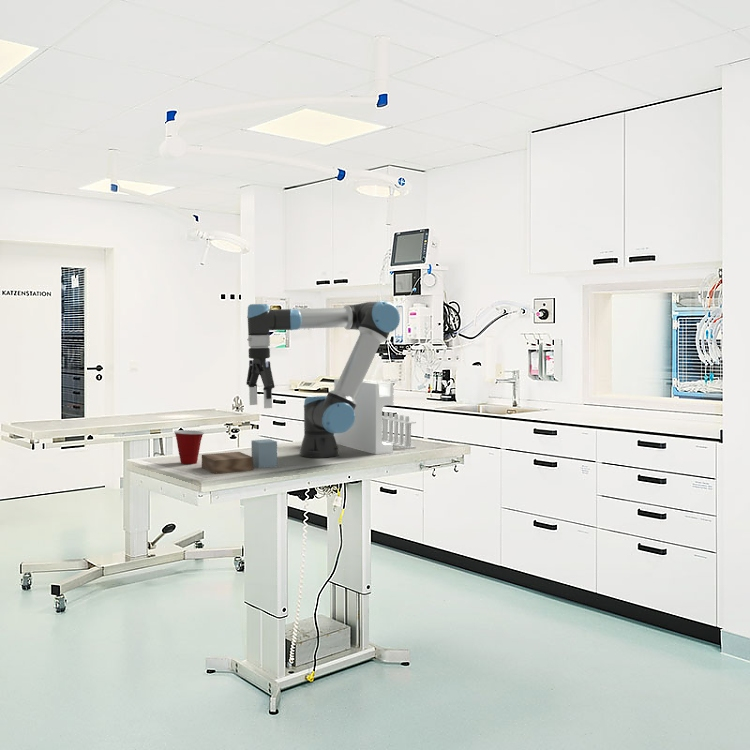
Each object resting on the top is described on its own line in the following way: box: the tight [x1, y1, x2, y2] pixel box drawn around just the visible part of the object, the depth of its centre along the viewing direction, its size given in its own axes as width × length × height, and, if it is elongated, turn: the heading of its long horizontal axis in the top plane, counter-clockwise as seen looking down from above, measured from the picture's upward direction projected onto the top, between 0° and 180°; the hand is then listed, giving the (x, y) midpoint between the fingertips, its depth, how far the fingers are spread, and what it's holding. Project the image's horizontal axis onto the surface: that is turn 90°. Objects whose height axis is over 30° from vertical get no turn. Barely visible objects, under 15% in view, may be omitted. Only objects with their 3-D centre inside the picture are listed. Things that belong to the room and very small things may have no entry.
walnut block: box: [201, 451, 254, 475], centre depth 284 cm, size 14×14×5 cm
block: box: [333, 377, 395, 456], centre depth 334 cm, size 35×8×28 cm, turn 31°
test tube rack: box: [382, 411, 417, 450], centre depth 344 cm, size 25×4×13 cm, turn 29°
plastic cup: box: [173, 429, 205, 465], centre depth 295 cm, size 11×11×12 cm
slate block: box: [251, 438, 278, 469], centre depth 291 cm, size 7×7×9 cm
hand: (260, 406), depth 289 cm, fingers open, 13 cm apart
